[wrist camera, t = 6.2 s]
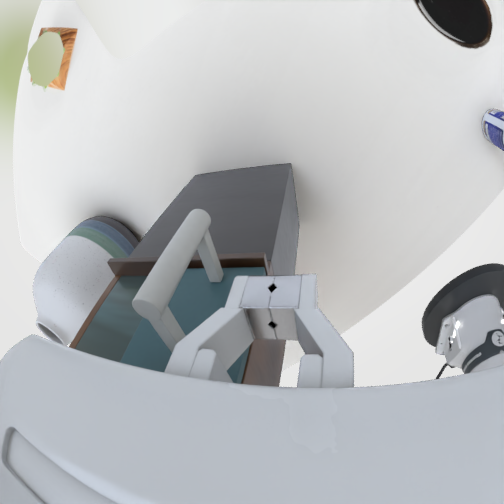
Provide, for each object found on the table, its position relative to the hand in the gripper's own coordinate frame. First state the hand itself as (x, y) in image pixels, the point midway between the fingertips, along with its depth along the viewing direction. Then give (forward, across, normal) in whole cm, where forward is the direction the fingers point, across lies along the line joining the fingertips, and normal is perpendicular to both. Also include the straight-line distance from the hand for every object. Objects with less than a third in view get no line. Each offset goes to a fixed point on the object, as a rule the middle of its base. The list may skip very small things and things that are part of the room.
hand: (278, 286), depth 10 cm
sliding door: (+6, +6, +2) cm, 9 cm away
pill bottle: (+28, -29, -1) cm, 40 cm away
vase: (+28, +38, +16) cm, 50 cm away
